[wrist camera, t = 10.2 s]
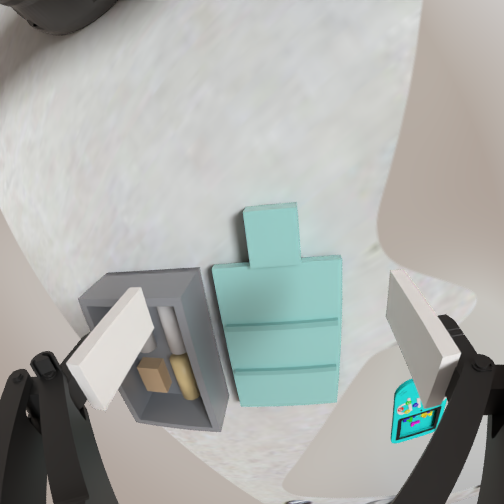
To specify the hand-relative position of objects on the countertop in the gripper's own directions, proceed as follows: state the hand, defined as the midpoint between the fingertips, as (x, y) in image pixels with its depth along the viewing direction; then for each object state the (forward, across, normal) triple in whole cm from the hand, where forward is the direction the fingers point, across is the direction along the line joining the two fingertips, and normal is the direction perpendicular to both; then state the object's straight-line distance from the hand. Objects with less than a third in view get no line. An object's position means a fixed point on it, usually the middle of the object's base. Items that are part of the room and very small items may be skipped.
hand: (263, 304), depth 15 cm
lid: (+13, 0, -10) cm, 16 cm away
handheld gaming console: (+13, +19, -28) cm, 37 cm away
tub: (+13, -13, -12) cm, 22 cm away
